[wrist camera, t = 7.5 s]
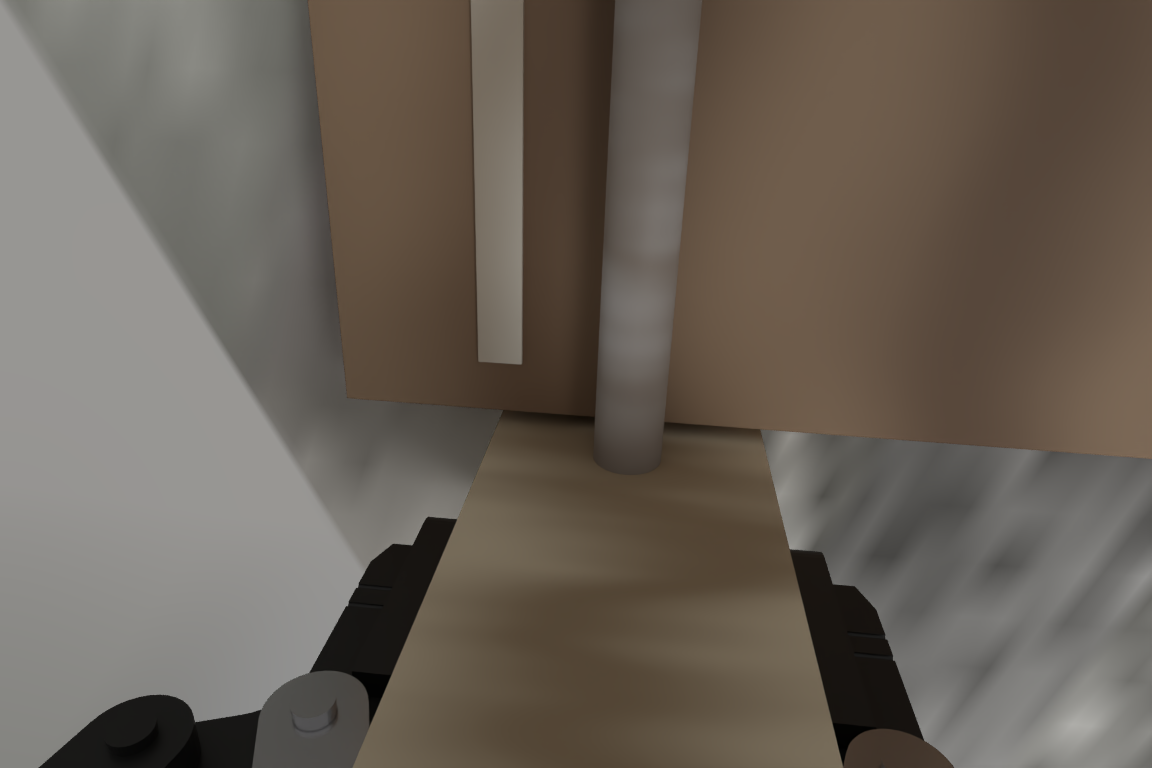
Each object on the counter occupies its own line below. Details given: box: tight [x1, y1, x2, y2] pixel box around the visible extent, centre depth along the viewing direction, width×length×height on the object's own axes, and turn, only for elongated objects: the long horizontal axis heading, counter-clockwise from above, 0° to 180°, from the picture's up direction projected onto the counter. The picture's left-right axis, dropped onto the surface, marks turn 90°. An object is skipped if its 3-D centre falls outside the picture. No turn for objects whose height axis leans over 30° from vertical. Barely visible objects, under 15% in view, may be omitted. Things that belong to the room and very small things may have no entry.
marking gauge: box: [353, 0, 843, 768], centre depth 9 cm, size 5×13×12 cm, turn 178°
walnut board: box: [308, 0, 1152, 459], centre depth 12 cm, size 24×12×2 cm, turn 88°
